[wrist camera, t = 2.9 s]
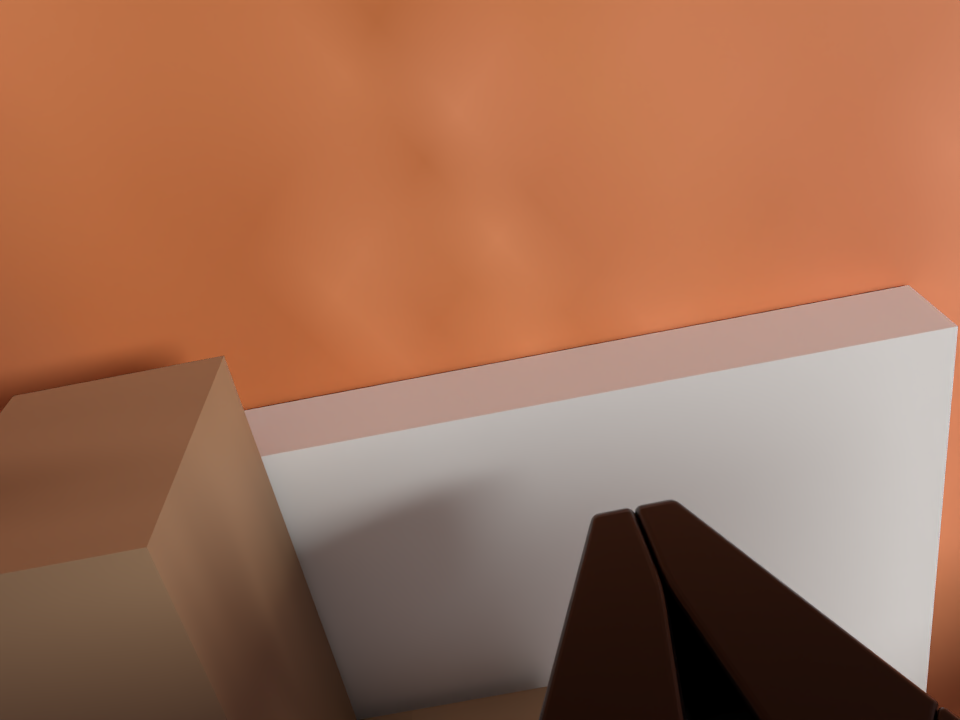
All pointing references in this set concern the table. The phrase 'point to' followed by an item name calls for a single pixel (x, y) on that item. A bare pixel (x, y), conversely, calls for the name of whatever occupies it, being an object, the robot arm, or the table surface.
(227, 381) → the block
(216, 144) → the table surface
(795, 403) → the board
